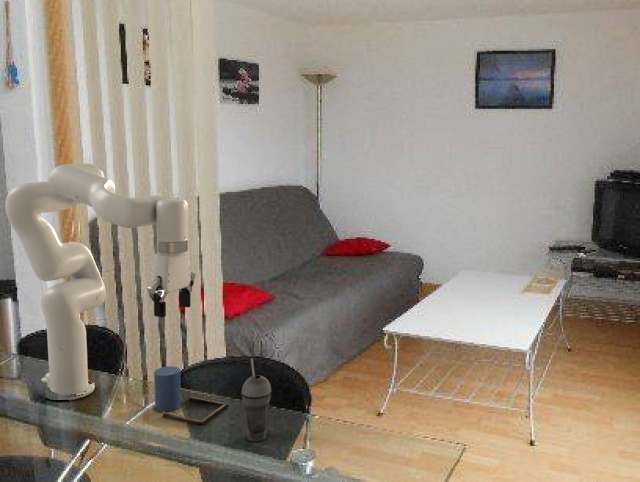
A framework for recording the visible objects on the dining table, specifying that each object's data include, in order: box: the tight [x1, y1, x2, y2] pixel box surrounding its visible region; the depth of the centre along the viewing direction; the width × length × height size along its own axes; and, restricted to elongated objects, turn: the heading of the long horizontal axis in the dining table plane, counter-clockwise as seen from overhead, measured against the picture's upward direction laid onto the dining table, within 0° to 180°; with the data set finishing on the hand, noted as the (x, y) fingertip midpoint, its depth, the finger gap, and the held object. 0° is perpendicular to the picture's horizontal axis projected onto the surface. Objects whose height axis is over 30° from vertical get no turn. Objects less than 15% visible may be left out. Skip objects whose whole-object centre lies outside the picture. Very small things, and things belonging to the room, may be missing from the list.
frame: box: [162, 396, 229, 426], centre depth 161 cm, size 12×12×1 cm
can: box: [153, 365, 182, 412], centre depth 163 cm, size 7×7×10 cm
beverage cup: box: [240, 357, 273, 442], centre depth 148 cm, size 7×7×20 cm
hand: (172, 311), depth 158 cm, fingers open, 9 cm apart
